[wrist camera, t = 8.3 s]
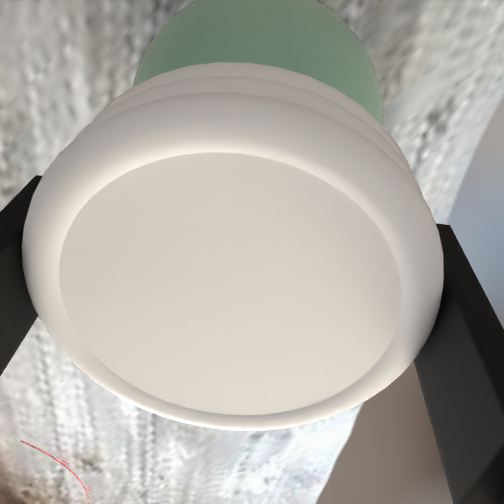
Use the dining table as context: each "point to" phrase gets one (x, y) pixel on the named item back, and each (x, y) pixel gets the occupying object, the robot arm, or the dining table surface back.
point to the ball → (267, 44)
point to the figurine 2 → (59, 462)
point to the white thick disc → (235, 249)
